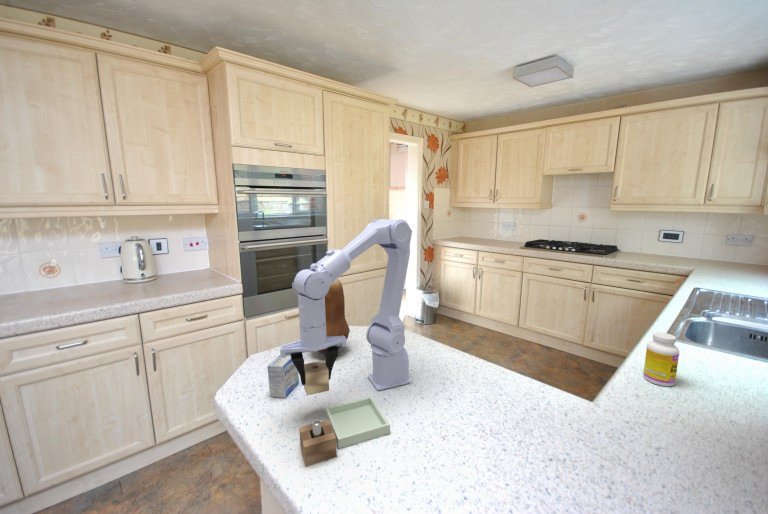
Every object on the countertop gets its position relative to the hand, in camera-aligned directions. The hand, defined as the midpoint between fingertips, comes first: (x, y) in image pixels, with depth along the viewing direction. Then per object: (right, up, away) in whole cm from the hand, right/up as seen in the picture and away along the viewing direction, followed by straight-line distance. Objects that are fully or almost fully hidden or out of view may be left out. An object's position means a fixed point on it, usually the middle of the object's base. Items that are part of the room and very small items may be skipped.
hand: (315, 380), depth 76 cm
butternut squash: (-2, -3, +33) cm, 34 cm away
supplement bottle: (+89, -5, +13) cm, 91 cm away
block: (0, -2, 0) cm, 2 cm away
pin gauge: (+3, -10, -10) cm, 15 cm away
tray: (+10, -9, -3) cm, 13 cm away
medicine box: (-11, -7, +12) cm, 17 cm away
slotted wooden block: (+3, -10, -10) cm, 15 cm away
